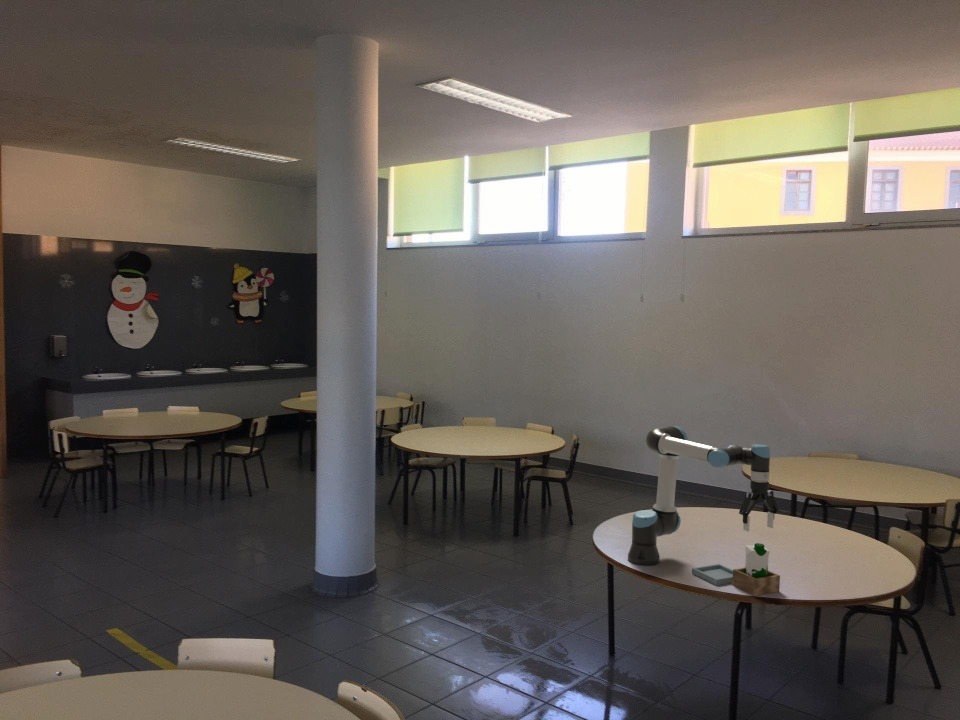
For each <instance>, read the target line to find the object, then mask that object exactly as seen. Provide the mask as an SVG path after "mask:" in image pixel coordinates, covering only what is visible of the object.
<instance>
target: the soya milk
mask: <svg viewBox="0 0 960 720" xmlns="http://www.w3.org/2000/svg"><path fill="white" fill-rule="evenodd" d="M744 547H745V549H744V550H745V561H744V564H745V565H744V566H745V567H744V568H745V574H747V575H749V576H751V577H754V578H762V577H768V571H769V556H770V550H769V549H768V548H766V547H765V544H763V543H759V542H757V543H754V544H753V545H749V544H746V545H745V546H744Z"/></svg>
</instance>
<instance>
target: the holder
mask: <svg viewBox="0 0 960 720" xmlns="http://www.w3.org/2000/svg"><path fill="white" fill-rule="evenodd" d="M732 570H733V583H732V586H734V587H735V588H738V589H741V590H742V591H744V592H746V593H749V594H750V595H753V596H755V597H756V596H762V595H767V594H774V593H778V592H780V584H781V583H780V582H781V575H779V574H777V573H774V572H773V571H770V570H768V577H762V578H754V577H751V576H749V575H747V574H745V567H740V568H733V569H732Z"/></svg>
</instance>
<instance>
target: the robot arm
mask: <svg viewBox="0 0 960 720" xmlns="http://www.w3.org/2000/svg"><path fill="white" fill-rule="evenodd" d="M645 442H646V446H647V448H648V449H649V450H651V451H653V452H655V453H657V455H659V462H658V463H659V465H658V476H657V488H656V489H657V490H656V498H655V499H656V500H655V501H656V503H655V504H653V505H652V510H651V509H645V510H643V509H642V510H637V511H636V512H634V513H633V515H632V521H631V525H632V526H631V527H632V528H631V545H630V547H629V551H628V553H627V561H629V562H630V563H633V564H635V565H640V566H642V565H643V566H655V565H659V563H660V562H661V561H660V558H661V556H660V554H659V549H658V547H657V540H658V539H657V537H662V536H666V535H671V534H673V533H676V532H677V531H678V530H679V528H680V526H681V524H682V523H681V516H680V513H679V512H678V509H677V507H676V506H675V500H676V499H675V497H676V487H677V474H678V464H679V462H678V461H679V458H680V457H683V458H688V459H692V460H696V461H699V462H703V463H706V464H707V463H708V464H710V466H712V467H714V468H724V467H728V466H729V467H730V466H734V465H745V466H747V465H748V466H750V484H749V485H750V489H751V491H750V492H747V491H746V492H745V494H744V499H743V502H742V504H741V507H740V508H739V512H738V514H739V515H741V516H742V523H743V531H745V532H750V521H751V519H750V518H751V517H750V513H751V512H752V511H753V509H754V507H755V506H756V505H757V504H758V503H763V504H764V506H765V507H766V508H767V510H768V511H767V516H766V517H767V519H766V520H767V521H766V525H767V527H768V528H770V529H774V520H775V514H777V513H778V511H779V507H778V504H777V501H776V498H775V496H774V495H775V494H774V490H771V489H770V482H769V481H770V466H771V465H770V464H771V463H770V462H771V461H770V460H771V451H770V450H771V448H770V446H768V445H766V444H758V443H757V444H756V443H755V444H754V443H753V444H752V445H751V447H745V446H740V445H733V444H730V445H728V446H727V447H726V448H720V447H718V446H717V447H715V446H713V445H708V444H704V443H703V444H702V443H700V442H695V441H690V440H688V435H687V433H686V432H685V429H683V428H682V427H680V426H679V425H678V426H676V425H675V426H673V425H669V426H662V427H655V428H653V429H650V430H649V432H648V433H647V434H646V439H645Z"/></svg>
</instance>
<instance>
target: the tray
mask: <svg viewBox="0 0 960 720" xmlns="http://www.w3.org/2000/svg"><path fill="white" fill-rule="evenodd" d="M691 574H693V575H694V576H695V577H696V576H697V577H698V578H701V579H702V578H703V580H704V579H705V580H704V581H706V580H707V582H708V581H709V583H710V584H713V585H714V586H720V585H727V584H733V569H732V568H730V567H727V566H725V565H723V564H721V563H715V564H709V565H703V566H702V565H701V566H697V567H691Z"/></svg>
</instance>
